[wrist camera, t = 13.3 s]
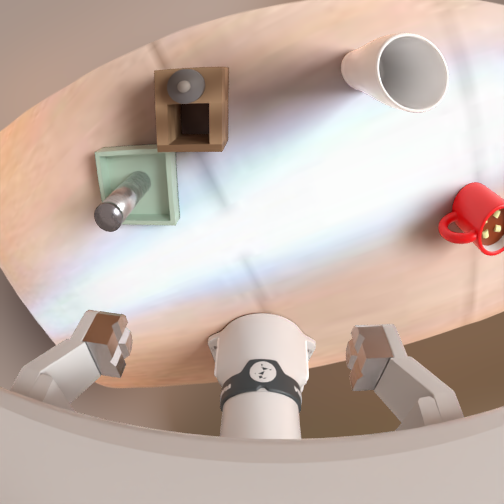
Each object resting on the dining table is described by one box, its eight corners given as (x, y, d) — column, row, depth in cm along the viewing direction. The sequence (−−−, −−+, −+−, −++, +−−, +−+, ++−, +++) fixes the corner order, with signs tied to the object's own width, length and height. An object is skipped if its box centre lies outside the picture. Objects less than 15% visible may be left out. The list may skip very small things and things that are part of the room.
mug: (425, 199, 40) (451, 225, 34) (488, 176, 37) (519, 197, 31) (432, 244, 44) (454, 274, 37) (491, 220, 41) (517, 245, 34)
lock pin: (152, 193, 41) (123, 231, 32) (130, 194, 41) (97, 231, 32) (149, 170, 39) (118, 203, 30) (127, 171, 39) (91, 204, 30)
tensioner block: (228, 140, 38) (219, 156, 31) (171, 140, 38) (152, 156, 31) (228, 67, 33) (220, 66, 26) (170, 70, 33) (148, 70, 26)
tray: (179, 217, 43) (175, 225, 41) (112, 216, 43) (105, 224, 41) (175, 143, 38) (169, 148, 36) (103, 147, 38) (94, 152, 36)
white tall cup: (340, 100, 34) (384, 119, 22) (327, 47, 31) (365, 34, 18) (391, 93, 33) (455, 110, 20) (380, 41, 30) (441, 31, 17)
